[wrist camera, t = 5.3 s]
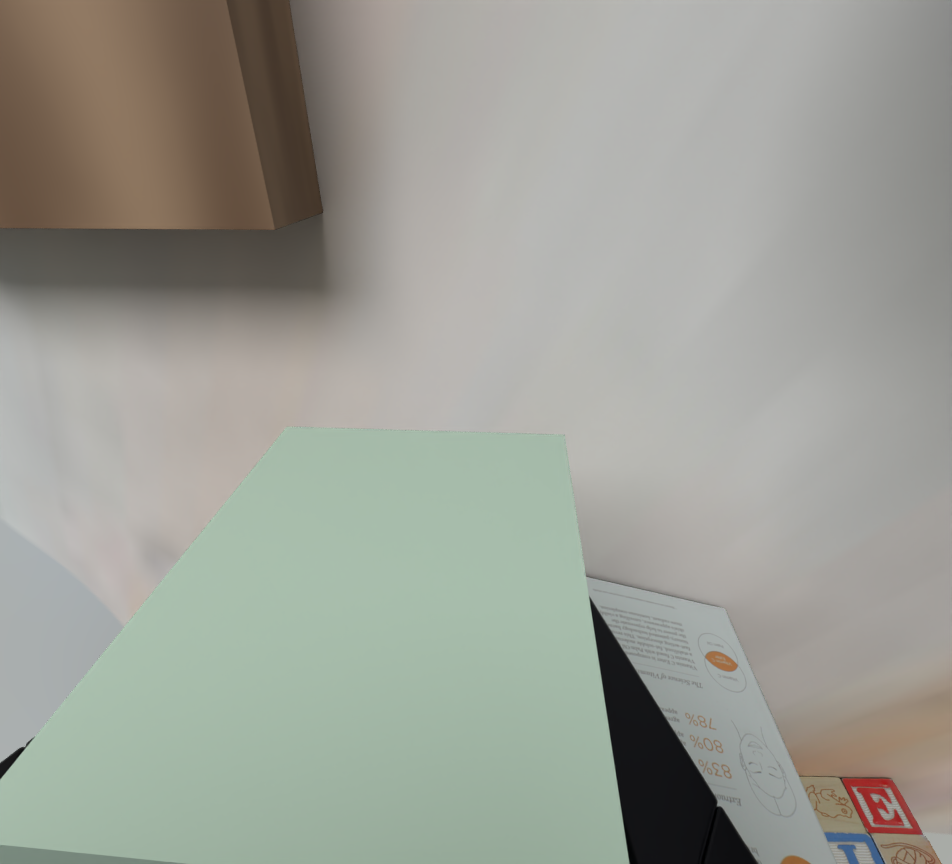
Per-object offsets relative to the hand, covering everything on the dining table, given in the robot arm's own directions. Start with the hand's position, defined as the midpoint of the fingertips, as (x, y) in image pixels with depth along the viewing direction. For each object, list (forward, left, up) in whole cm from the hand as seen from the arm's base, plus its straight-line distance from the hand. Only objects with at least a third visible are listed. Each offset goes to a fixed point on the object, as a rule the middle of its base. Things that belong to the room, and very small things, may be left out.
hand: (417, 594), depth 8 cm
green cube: (0, 0, -2) cm, 2 cm away
